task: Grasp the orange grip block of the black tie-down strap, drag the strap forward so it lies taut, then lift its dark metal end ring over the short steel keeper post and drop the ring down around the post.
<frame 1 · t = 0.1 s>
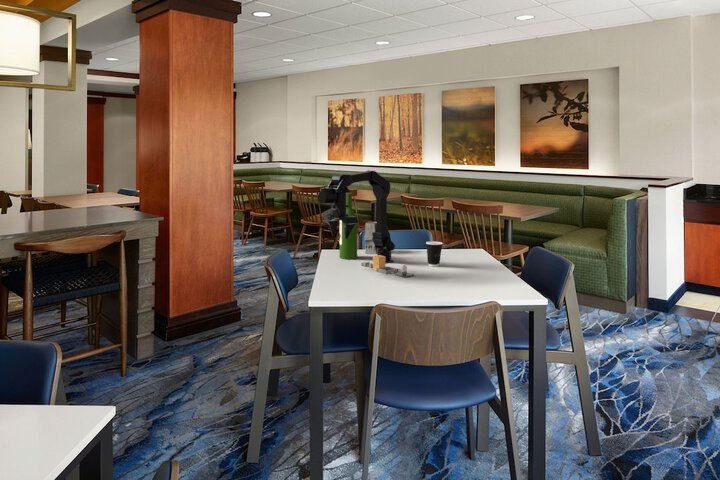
hand: (339, 237, 232), 15 cm above the table, tool pointing down, fingers open, 9 cm apart
wine bottle: (348, 258, 261), on the table
keeper: (404, 275, 224), on the table
coffee box: (372, 252, 277), on the table
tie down: (379, 269, 235), on the table
dixie cup: (433, 265, 245), on the table
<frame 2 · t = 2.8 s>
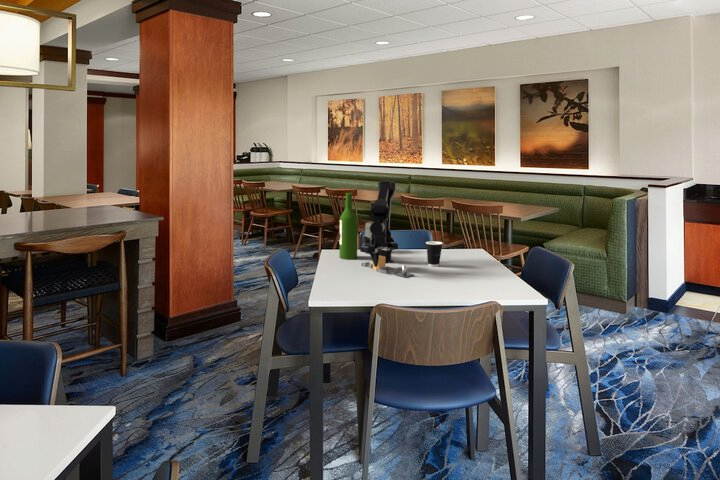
hand: (379, 265, 235), 2 cm above the table, tool pointing down, fingers closed on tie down, 4 cm apart
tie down: (379, 269, 235), on the table, touching gripper
everything else where it was.
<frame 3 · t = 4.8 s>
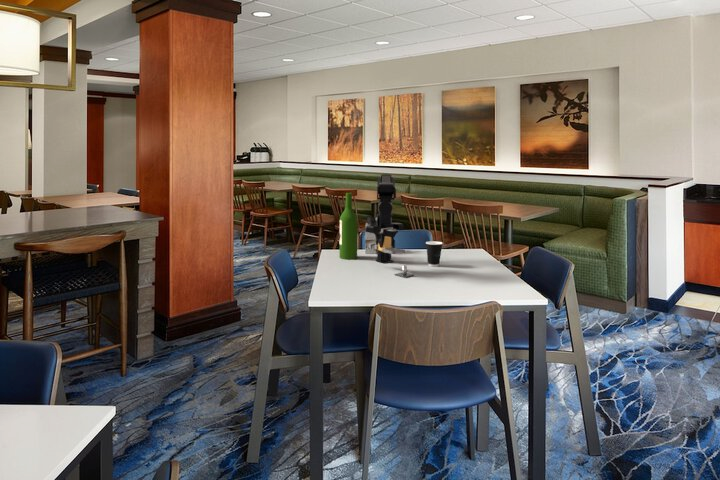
hand: (384, 247, 231), 11 cm above the table, tool pointing down, fingers closed on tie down, 4 cm apart
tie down: (384, 250, 231), point 9 cm above the table, touching gripper
everything else where it was.
when the fingers open (3 cm above the table, at t = 7.1 s): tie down stays where it is, resting on keeper.
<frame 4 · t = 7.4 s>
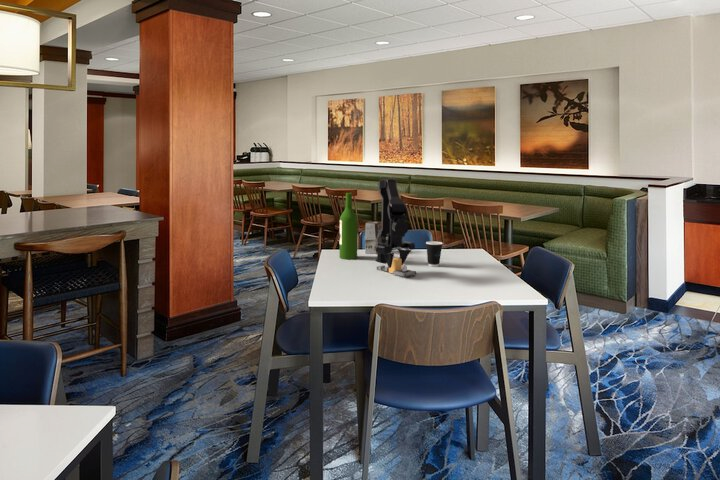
hand: (395, 266, 227), 3 cm above the table, tool pointing down, fingers open, 7 cm apart
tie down: (395, 272, 228), resting on keeper
everything else where it was.
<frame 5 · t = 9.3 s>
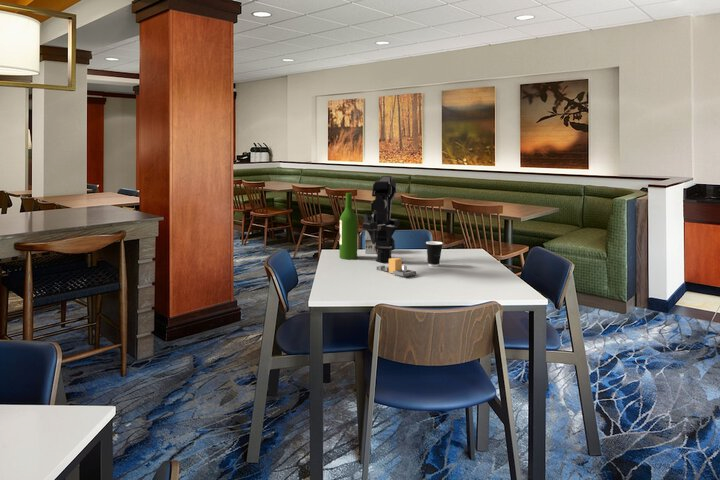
hand: (381, 242, 236), 12 cm above the table, tool pointing down, fingers open, 9 cm apart
nothing on the table moved.
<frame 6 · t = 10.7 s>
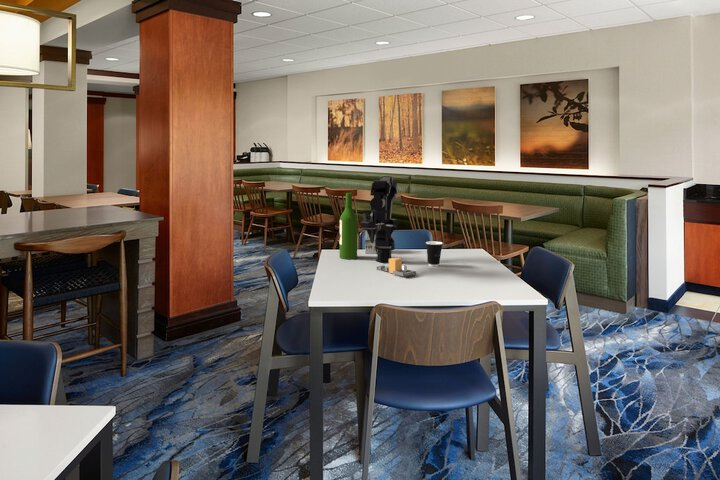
hand: (379, 242, 236), 12 cm above the table, tool pointing down, fingers open, 9 cm apart
nothing on the table moved.
at the end: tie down 0.0 cm from the target spot on the table beside the keeper, point 0.5 cm above the table; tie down point 0.5 cm above the table; the gripper is holding nothing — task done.
